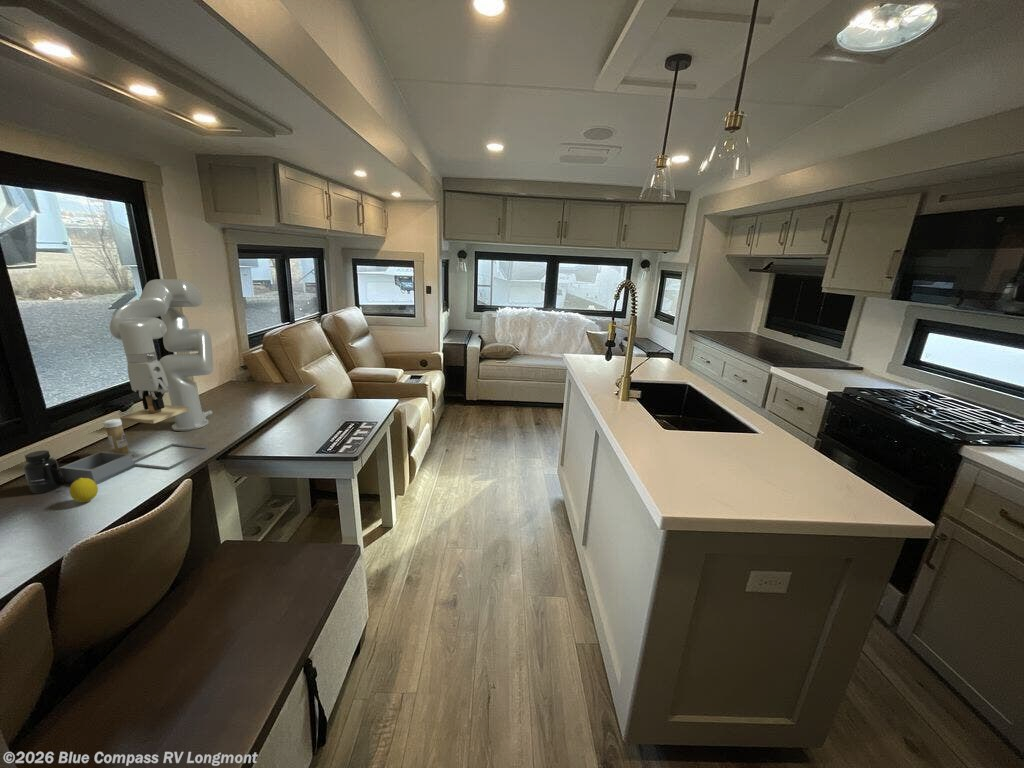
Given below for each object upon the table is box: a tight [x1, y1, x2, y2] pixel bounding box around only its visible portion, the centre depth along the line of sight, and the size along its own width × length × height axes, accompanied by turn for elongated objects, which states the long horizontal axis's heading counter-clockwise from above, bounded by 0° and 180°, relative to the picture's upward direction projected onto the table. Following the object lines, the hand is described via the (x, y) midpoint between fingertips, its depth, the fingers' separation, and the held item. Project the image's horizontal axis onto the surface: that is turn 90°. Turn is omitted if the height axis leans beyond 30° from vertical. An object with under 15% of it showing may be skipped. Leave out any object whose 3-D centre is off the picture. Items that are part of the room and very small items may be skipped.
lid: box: [119, 394, 189, 424], centre depth 139 cm, size 13×13×7 cm
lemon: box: [69, 478, 99, 503], centre depth 117 cm, size 6×6×8 cm
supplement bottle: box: [22, 449, 64, 494], centre depth 123 cm, size 7×7×12 cm
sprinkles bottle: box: [103, 418, 131, 454], centre depth 145 cm, size 5×5×14 cm
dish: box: [59, 450, 136, 486], centre depth 133 cm, size 12×12×5 cm
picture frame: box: [133, 443, 212, 471], centre depth 146 cm, size 17×17×1 cm
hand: (154, 408), depth 140 cm, fingers closed on lid, 3 cm apart
